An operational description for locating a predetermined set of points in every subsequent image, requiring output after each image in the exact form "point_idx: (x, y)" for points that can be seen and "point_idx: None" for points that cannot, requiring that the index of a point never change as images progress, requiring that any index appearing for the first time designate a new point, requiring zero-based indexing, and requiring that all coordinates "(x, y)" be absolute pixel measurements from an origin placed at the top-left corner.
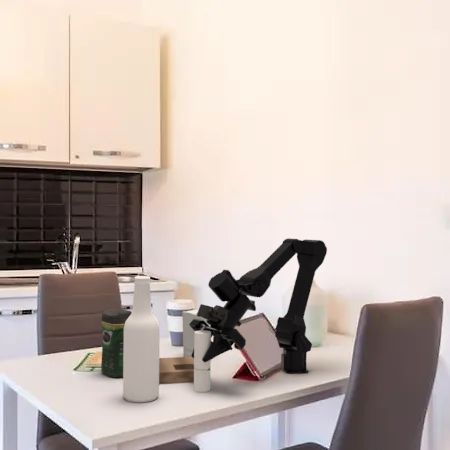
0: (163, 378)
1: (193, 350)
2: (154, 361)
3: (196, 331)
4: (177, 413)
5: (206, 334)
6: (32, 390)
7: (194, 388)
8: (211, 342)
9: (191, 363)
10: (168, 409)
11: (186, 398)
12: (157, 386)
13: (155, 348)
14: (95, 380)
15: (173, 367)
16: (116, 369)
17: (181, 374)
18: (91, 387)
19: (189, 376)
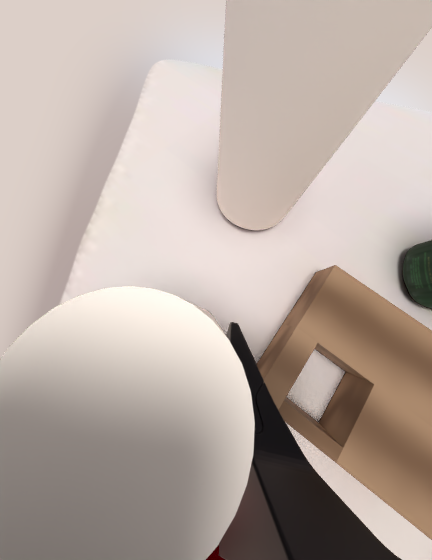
0: (306, 297)
1: (242, 342)
2: (221, 105)
3: (222, 379)
4: (131, 184)
5: (7, 368)
6: (415, 113)
7: (204, 309)
8: (221, 540)
9: (349, 449)
10: (159, 188)
11: (178, 256)
12: (221, 194)
13: (226, 26)
14: (414, 215)
15: (344, 359)
16: (429, 243)
17: (284, 338)
18: (372, 182)
19: (269, 357)
